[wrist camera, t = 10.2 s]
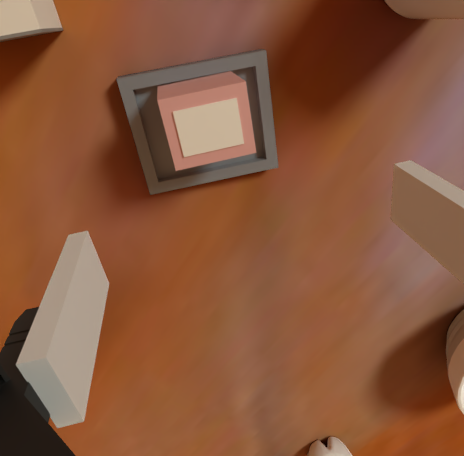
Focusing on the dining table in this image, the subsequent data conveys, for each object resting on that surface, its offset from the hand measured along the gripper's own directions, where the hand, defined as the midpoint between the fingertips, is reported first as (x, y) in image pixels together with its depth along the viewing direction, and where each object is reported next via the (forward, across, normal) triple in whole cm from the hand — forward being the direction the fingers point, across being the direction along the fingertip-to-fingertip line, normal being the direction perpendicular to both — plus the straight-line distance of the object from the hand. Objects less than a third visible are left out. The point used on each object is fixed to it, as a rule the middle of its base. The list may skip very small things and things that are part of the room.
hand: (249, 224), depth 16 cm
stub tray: (+20, 0, -1) cm, 20 cm away
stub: (+19, 0, +1) cm, 19 cm away
